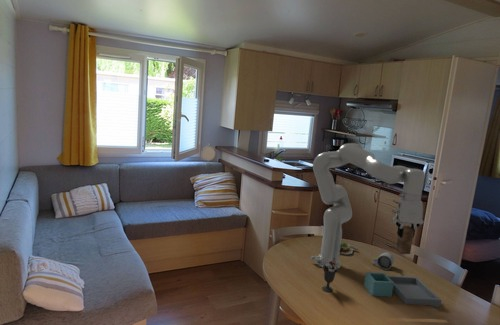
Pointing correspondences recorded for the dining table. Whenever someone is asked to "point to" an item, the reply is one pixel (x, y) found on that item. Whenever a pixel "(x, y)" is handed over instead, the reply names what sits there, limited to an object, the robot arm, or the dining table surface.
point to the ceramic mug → (384, 261)
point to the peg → (405, 240)
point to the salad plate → (346, 248)
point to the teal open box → (378, 284)
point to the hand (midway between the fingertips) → (405, 236)
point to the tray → (414, 291)
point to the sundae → (329, 275)
